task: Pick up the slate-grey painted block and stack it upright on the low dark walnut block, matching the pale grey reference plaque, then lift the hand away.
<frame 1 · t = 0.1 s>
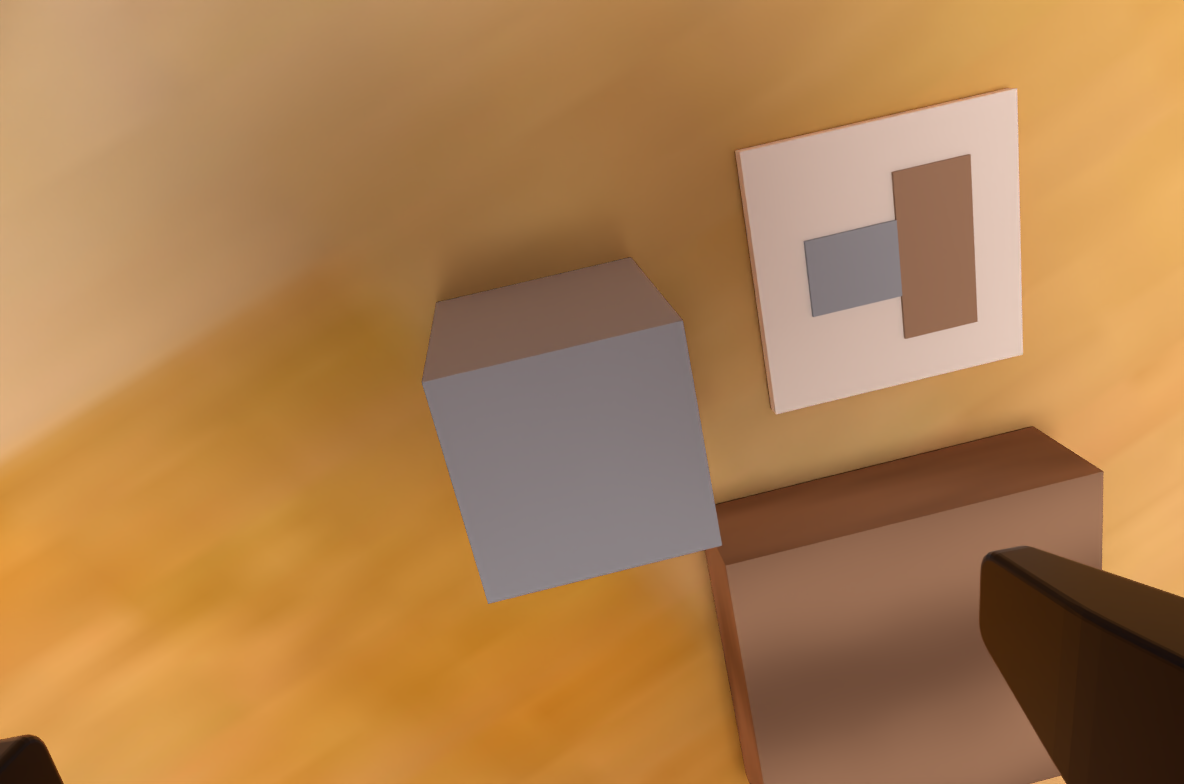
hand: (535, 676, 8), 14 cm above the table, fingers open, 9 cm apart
reference plaque: (883, 256, 22), on the table
walnut base block: (880, 610, 26), on the table
slate block: (555, 370, 23), on the table
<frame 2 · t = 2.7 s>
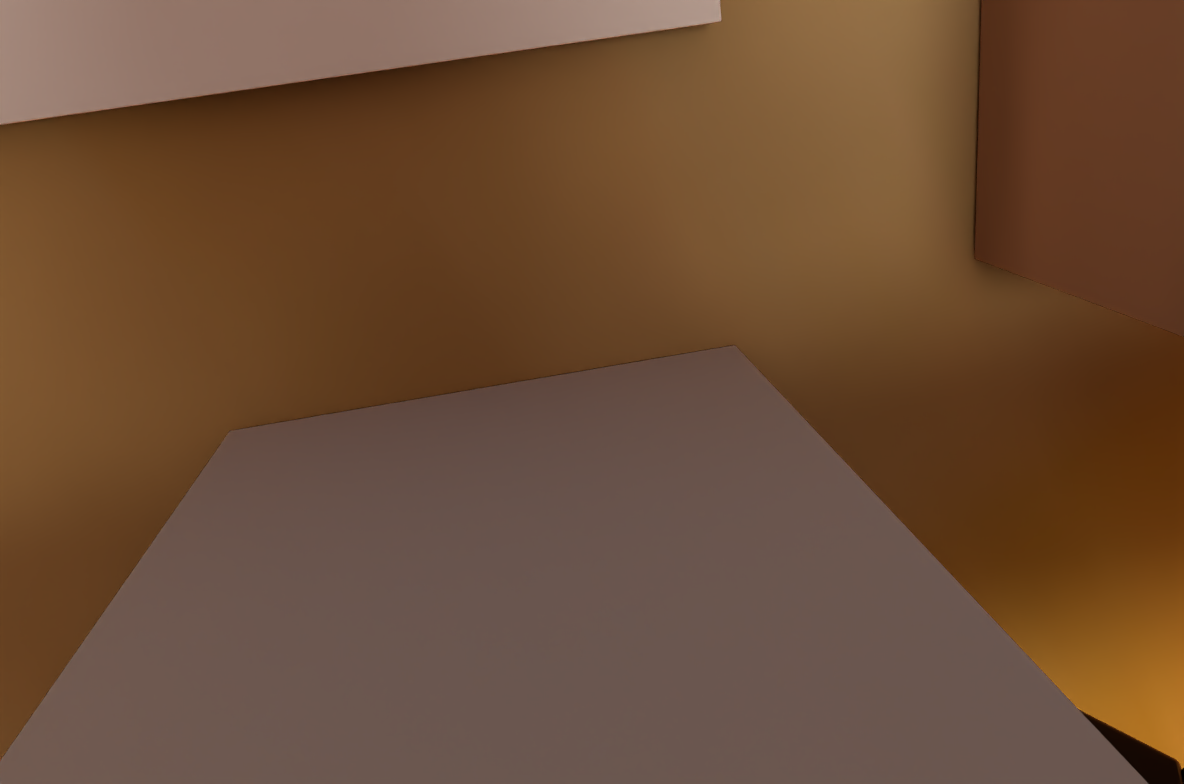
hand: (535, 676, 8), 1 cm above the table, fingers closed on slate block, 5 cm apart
slate block: (528, 600, 9), on the table, touching gripper
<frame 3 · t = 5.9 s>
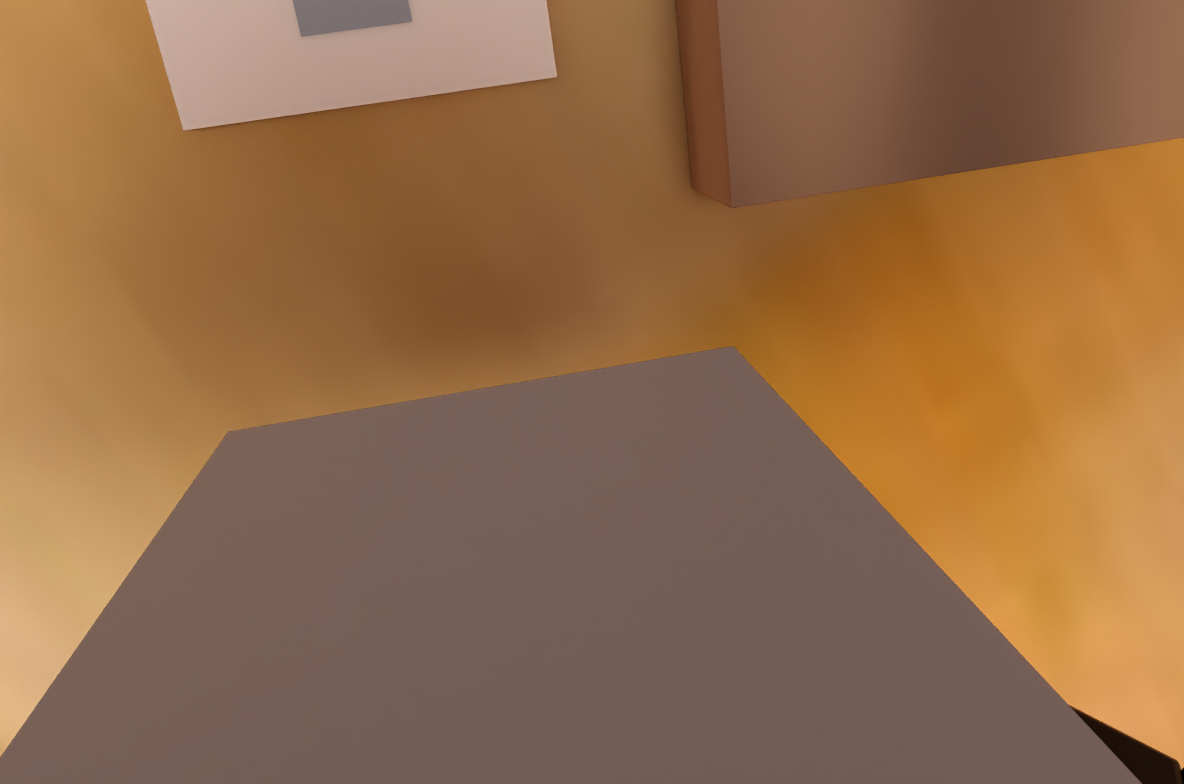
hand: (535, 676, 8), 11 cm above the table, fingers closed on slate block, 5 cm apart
slate block: (526, 601, 9), point 10 cm above the table, touching gripper
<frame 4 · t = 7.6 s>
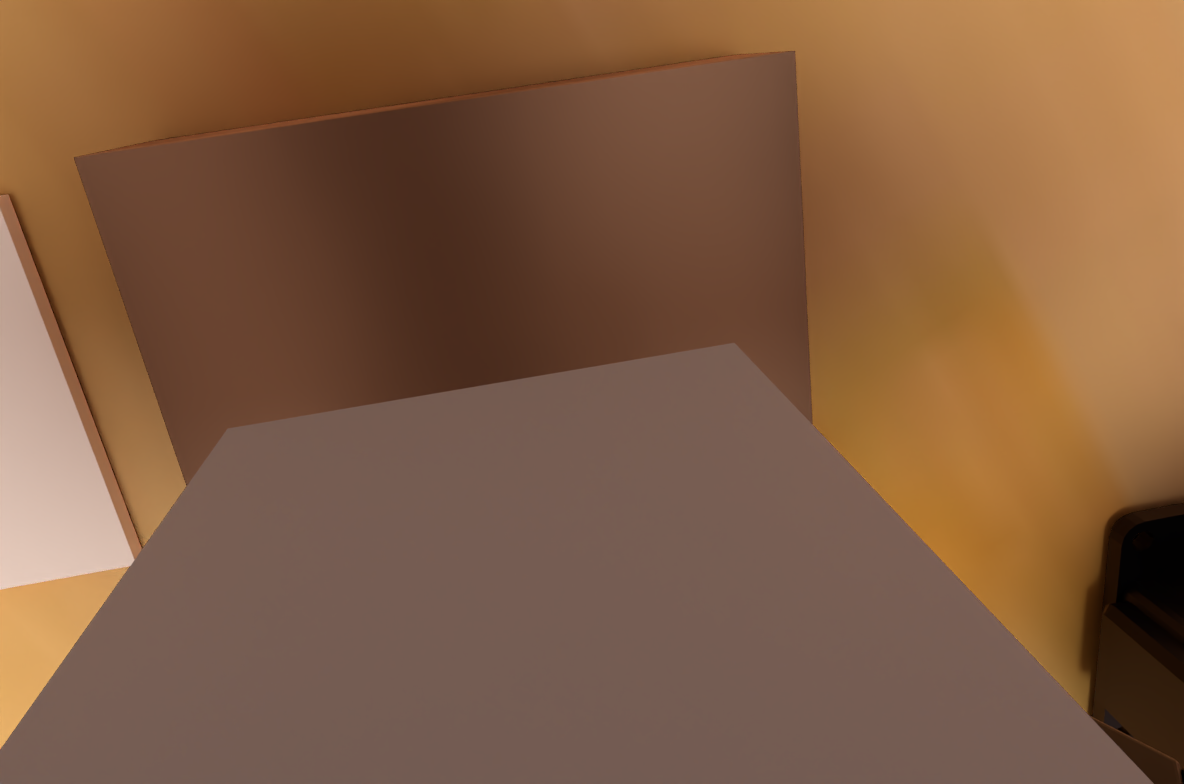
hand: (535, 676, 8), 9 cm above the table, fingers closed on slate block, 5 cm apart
walnut base block: (501, 370, 17), on the table
slate block: (527, 598, 9), point 8 cm above the table, touching gripper
when the fingers open (6 cm above the table, at t = 9.1 s): slate block drops 1 cm, resting on walnut base block.
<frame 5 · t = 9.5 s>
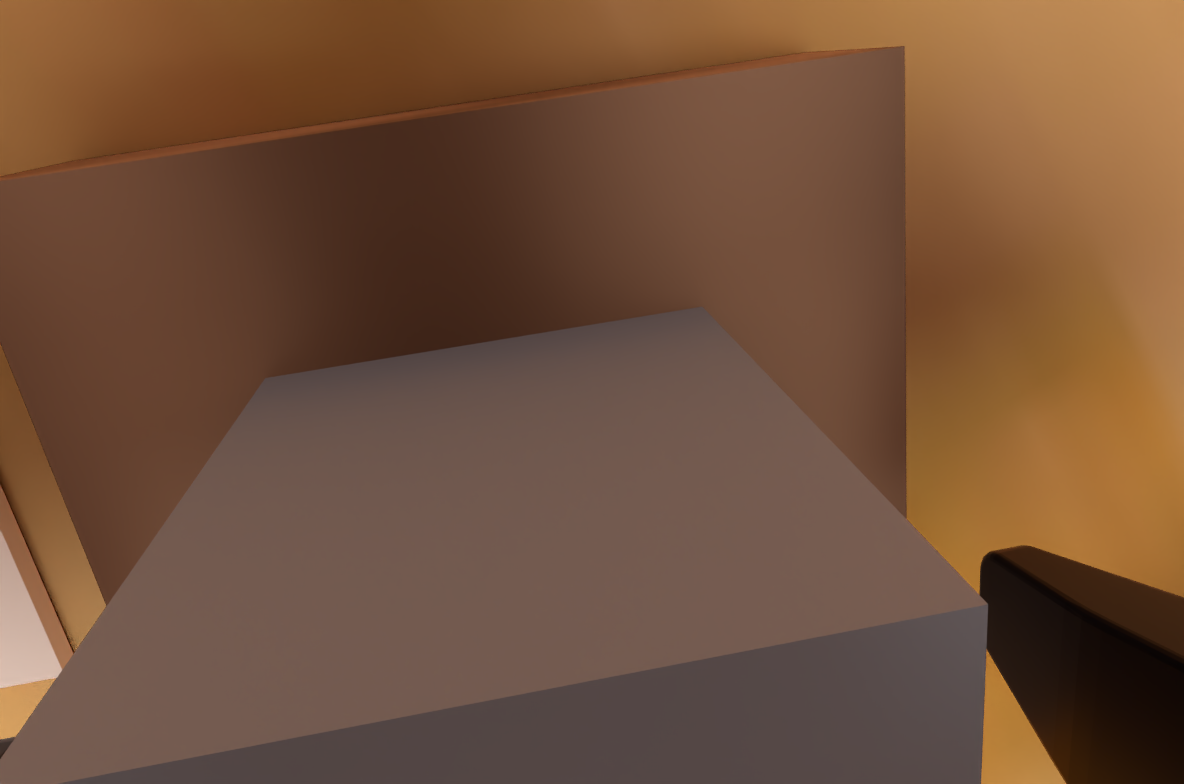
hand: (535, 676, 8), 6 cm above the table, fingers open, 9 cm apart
walnut base block: (511, 438, 13), on the table
slate block: (522, 532, 11), point 3 cm above the table, touching walnut base block
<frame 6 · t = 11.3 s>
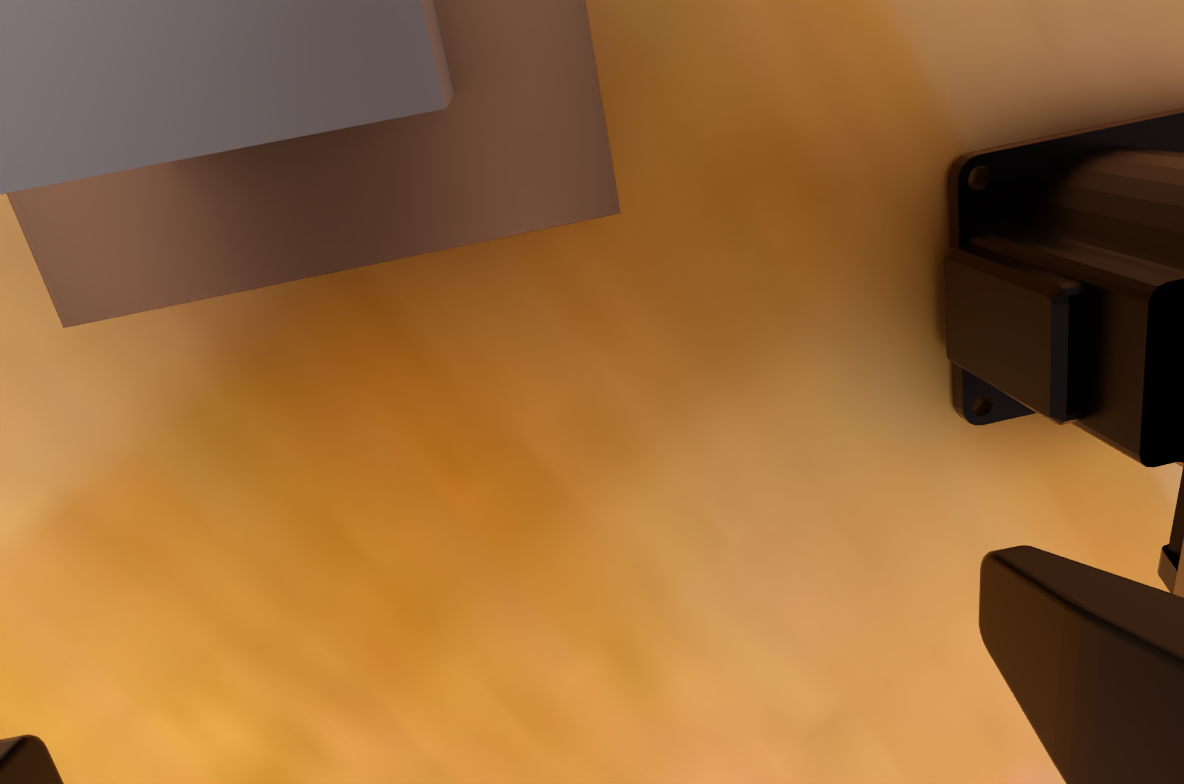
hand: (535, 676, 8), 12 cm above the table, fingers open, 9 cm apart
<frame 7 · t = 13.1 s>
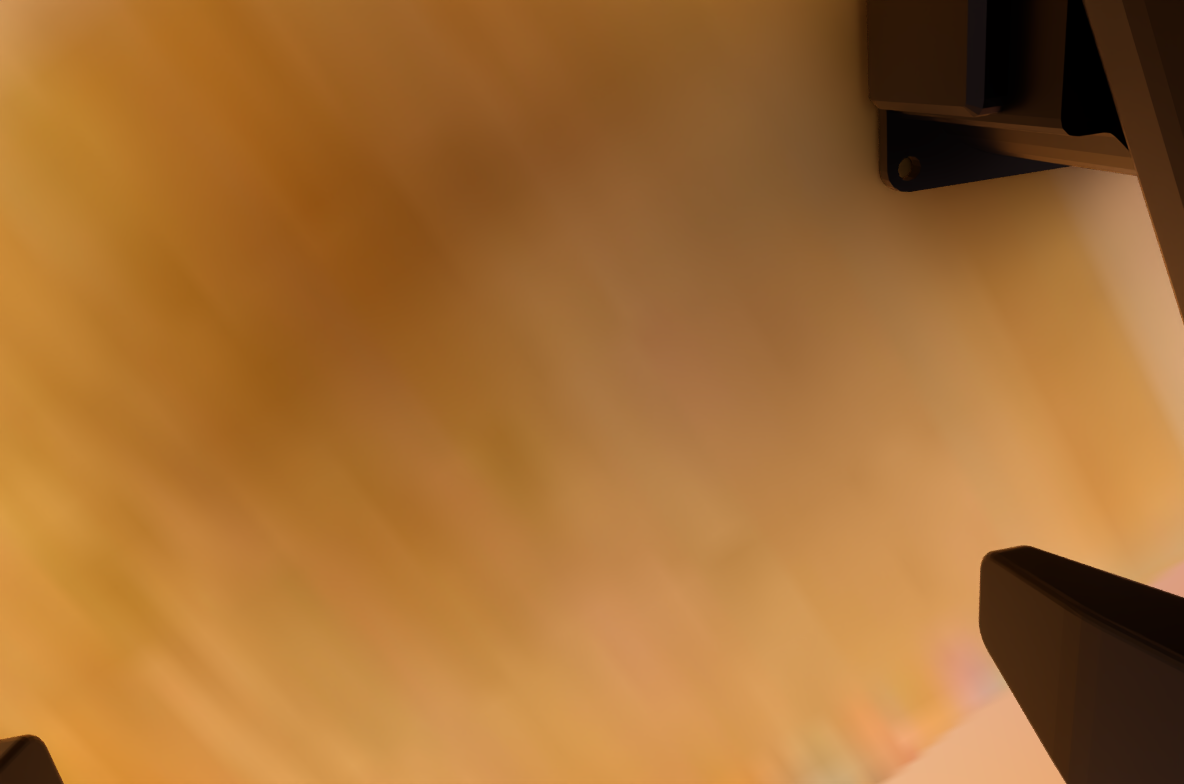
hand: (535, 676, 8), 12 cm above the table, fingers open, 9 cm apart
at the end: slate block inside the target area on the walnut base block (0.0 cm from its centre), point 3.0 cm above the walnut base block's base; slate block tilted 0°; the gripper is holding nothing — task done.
